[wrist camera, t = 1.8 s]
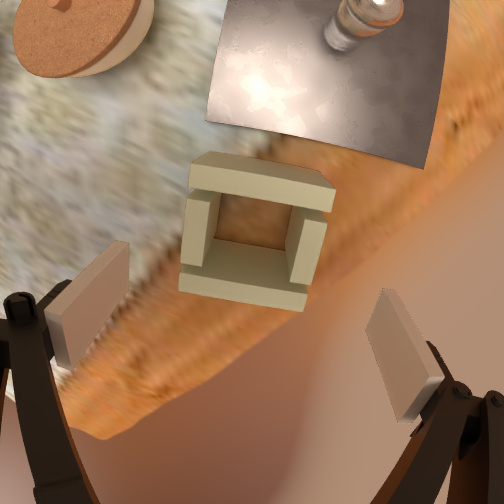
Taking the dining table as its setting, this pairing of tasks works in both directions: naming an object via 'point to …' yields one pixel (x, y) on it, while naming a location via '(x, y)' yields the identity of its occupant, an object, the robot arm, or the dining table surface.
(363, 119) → the keeper base
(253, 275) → the square link
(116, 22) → the lidded jar
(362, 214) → the dining table surface
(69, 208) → the dining table surface
